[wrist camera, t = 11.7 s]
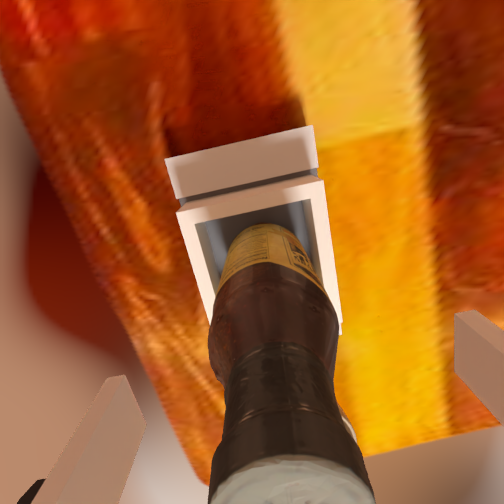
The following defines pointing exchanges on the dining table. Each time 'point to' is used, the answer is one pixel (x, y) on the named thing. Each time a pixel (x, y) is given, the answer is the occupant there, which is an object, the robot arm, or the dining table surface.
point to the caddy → (252, 203)
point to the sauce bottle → (279, 380)
